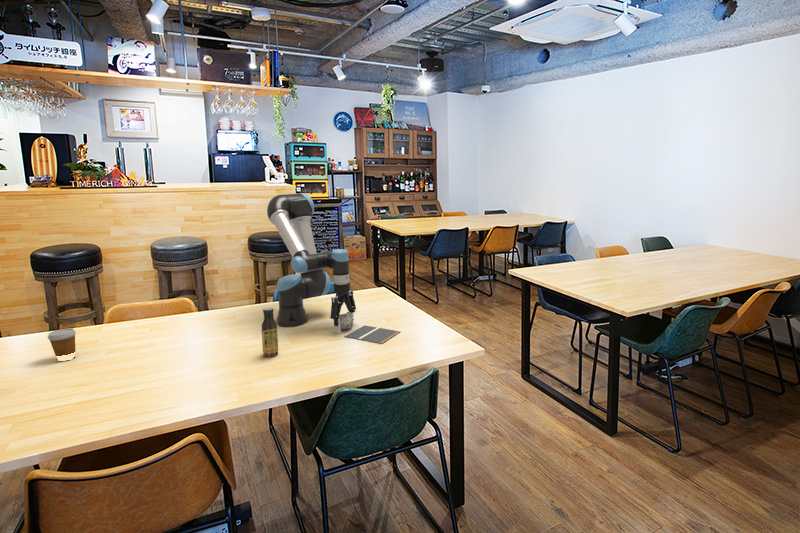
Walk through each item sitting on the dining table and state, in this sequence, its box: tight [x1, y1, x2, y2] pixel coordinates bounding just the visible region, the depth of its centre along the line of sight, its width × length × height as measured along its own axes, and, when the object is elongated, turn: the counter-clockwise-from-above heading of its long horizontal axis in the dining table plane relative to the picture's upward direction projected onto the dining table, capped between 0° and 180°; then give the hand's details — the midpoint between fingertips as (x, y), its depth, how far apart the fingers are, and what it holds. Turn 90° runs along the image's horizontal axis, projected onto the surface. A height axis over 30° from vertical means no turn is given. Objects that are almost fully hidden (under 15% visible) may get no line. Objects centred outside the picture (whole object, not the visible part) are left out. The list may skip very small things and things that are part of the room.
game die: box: [339, 311, 355, 332], centre depth 215 cm, size 9×8×10 cm
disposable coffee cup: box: [47, 328, 77, 357], centre depth 190 cm, size 10×10×12 cm
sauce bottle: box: [261, 307, 279, 358], centre depth 186 cm, size 7×6×20 cm
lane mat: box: [344, 325, 402, 345], centre depth 208 cm, size 20×16×1 cm
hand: (344, 328), depth 215 cm, fingers closed on game die, 9 cm apart
